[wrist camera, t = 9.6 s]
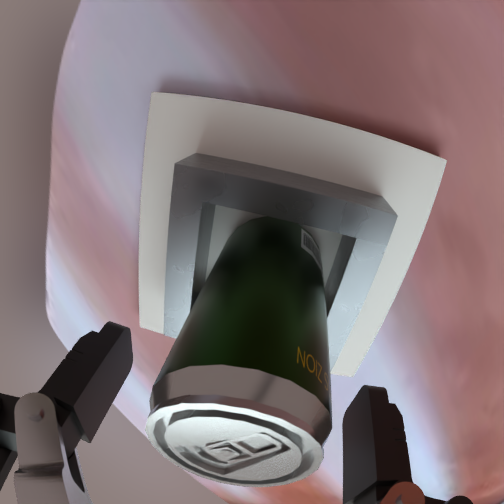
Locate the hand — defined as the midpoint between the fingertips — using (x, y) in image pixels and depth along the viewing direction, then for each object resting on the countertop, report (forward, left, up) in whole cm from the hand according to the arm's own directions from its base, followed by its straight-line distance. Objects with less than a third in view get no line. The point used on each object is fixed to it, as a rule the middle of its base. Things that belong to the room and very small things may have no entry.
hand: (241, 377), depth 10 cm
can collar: (0, 0, -10) cm, 10 cm away
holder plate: (0, 0, -10) cm, 10 cm away
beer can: (0, 0, -9) cm, 9 cm away
